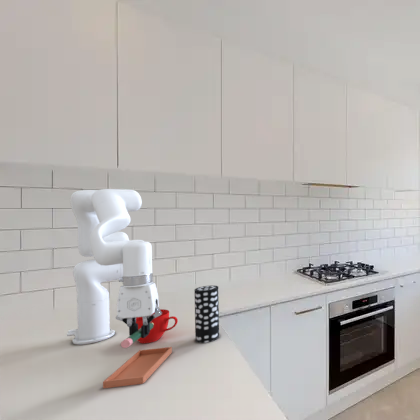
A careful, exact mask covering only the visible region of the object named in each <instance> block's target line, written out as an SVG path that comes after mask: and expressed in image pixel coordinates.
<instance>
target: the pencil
mask: <svg viewBox="0 0 420 420" xmlns="http://www.w3.org/2000/svg"><path fill="white" fill-rule="evenodd" d="M153 325H154V323H150V330H151V329H152V328H153ZM141 336H142V334H141V328H140V329H139V330H137V331H136V332H135V333H133V334H132V335H128V337H125V339H123V340H122V341H121V342H120V346H121V348H123V349H127V348H129V347H130V346H132V345H133V344H134V343H136V342H138V341H137V340H138V339H139V338H141Z"/></svg>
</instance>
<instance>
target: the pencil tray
mask: <svg viewBox="0 0 420 420" xmlns="http://www.w3.org/2000/svg"><path fill="white" fill-rule="evenodd" d="M172 353H173V347H172V346H168V347H158V348H148V349H147V348H146V349H139V350H138V351H137V352H136V353H134V354H133V355H132V356H131V357H130V358H129V359H127V360H126V361H125V362H124V363H123V364H122V365H120V367H118V368H117V369H116V370H115V371H114V372H112V373H111V374H110V375H108V377H107V378H105V379H104V380H103V381H102V389H112V388H118V387H128V386H136V385H142V384H144V383H146V381H147V380H148V379H149V378H150V377H151V376H152V375H154V373H155V372H156V371H157V369H159V367H160V366H161V365H162V364H163V363H164V362H165V361H166V360H167V358H168V357H169V356H170V355H171V354H172Z"/></svg>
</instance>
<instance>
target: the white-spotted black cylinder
mask: <svg viewBox="0 0 420 420" xmlns="http://www.w3.org/2000/svg"><path fill="white" fill-rule="evenodd" d="M219 295H220V294H219V286H218V285H203V286H199V287H196V288H194V331H195V332H194V333H195V334H194V335H195V336H194V337H195V338H194V339H195V342H196V343H198V344H206V343H211V342H213V341H216V340H218V339H219V338H220V307H219V306H220V305H219V304H220V302H219V300H220V297H219Z"/></svg>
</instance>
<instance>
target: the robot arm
mask: <svg viewBox="0 0 420 420" xmlns="http://www.w3.org/2000/svg"><path fill="white" fill-rule="evenodd" d="M69 199H70V200H69V203H70V208H71V211H72V213H73V215H74V217H75V220H76V222H77V223H76V224H77V250H78V254H80V256H82V257H86V258H87V257H93V259H87V260H83V261H80V262H78V263H76V264H75V265H74V267H73V269H72V275H73V279H74V284H75V289H76V304H77V305H76V307H77V308H76V309H77V310H76V311H77V312H76V313H77V328H76V329H75V328H72V329H68V330H67V333H66V337H72V336H73V337H74V338H73V339H72V344H74V345H79V346H81V345H89V344H94V343H98V342H101V341H105V340H108V339H110V338H111V337H113V336H114V335H115V334H116V331H115V329H112V328H111V319H110V318H111V317H110V314H111V313H110V293H109V290H108V289H107V288H106V287H105V286H103V285H102V283H106V282H111V281H116V280H117V281H118V282H119V283H122V285H120V287H119V291H118V295H117V304H116V316H115V320H117V321H120V322H123V323H124V324H125V325H126V326H127V328H128V336H130V335H132V334H133V333H135V332H136V331H137V330H138V324H137V323H136V317H143V325H142V326H141V334H142V336H141V338H145V337H146V336H147V335H148V334H149V333H150V322H151V321H152V320H153V319H154V318H156V317H158V316H160V315H161V314H162V312H161V310H160V309H161V308H160V302H159V293H158V288H157V285H156V281H155V282H154V277H153V274H154V273H153V246H152V243H151V242H150V241H145V240H143V239H130V237H129V235H128V234H127V233H126V232H124V231H122V230H124V229H126V228H127V227H128V226H129V225H130V224H131V220H132V218H131V216H130V214H129V212H137V211H139V210H140V209H141V208H142V205H143V200H142V197H141V195H140V193H139V192H138V191H137V190H134V189H125V188H101V189H81V190H76V191H74V192H73V193H71V195H70V198H69ZM154 312H155V314H153V313H154ZM152 314H153V315H152ZM151 315H152V316H151Z"/></svg>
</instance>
